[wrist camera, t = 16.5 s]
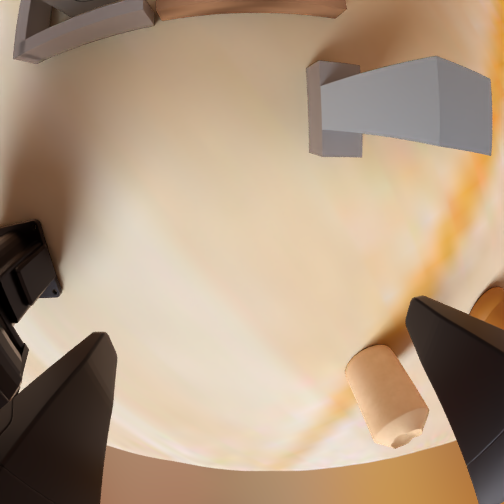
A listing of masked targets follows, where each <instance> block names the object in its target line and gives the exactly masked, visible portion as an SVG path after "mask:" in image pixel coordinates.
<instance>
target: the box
mask: <svg viewBox="0 0 504 504" xmlns="http://www.w3.org/2000/svg"><path fill="white" fill-rule="evenodd" d="M51 10H52V6H51V5H49V4H47V3H46V2H44V1H42V0H21V3H20V8H19V14H18V20H17V26H16V34H15V42H14V53H13V59H16V60H21V61H26V62H31V63H35V64H37V63H40V62H42V61H44V60H46V59H48V58H51V57H53V56H55V55H58V54H60V53H63V52H65V51H68V50H70V49H73V48H76V47H79V46H81V45H84V44H87V43H90V42H93V41H96V40H99V39H103V38H106V37H109V36H113V35H116V34H120V33H124V32H128V31H132V30H136V29H140V28H145V27H150V26H154V12H153V10H152V9H151V7H150V5H149V4H148V2H147V1H146V0H124V1H121V2H117V3H114V4H110V5H107V6H104V7H101V8H98V9H95V10H92V11H89V12H86V13H83V14H81V15H78V16H75V17H73V18H70V19H68V20H66V21H63V22H61V23H59V24H56V25H54V26H52V27H50V18H51ZM49 27H50V28H49Z"/></svg>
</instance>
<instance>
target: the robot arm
mask: <svg viewBox="0 0 504 504" xmlns="http://www.w3.org/2000/svg"><path fill="white" fill-rule="evenodd" d="M34 225H35V226H36V228H35V227H34ZM55 290H56V291H57V292H56V291H55ZM61 293H62V290H61V287H60V284H59V281H58V279H57V276H56V273H55V270H54V267H53V264H52V261H51V258H50V255H49V252H48V248H47V245H46V242H45V238H44V235H43V231H42V227H41V224H40V222H39V221H38V220H37V219H34V220H29V221H24V222H20V223H16V224H11V225H7V226H3V227H0V504H100V499H101V487H102V476H103V467H104V458H105V451H106V444H107V438H108V431H109V425H110V419H111V414H112V408H113V400H114V388H115V377H116V367H117V354H116V351H115V349H114V347H113V344H112V342H111V340H110V337H109V335H108V334H107V333H106V332H93V333H92V334H90V335H89V336H88V337H87V338H85V339H84V340H83V341H82V342H80V343H79V344H78V345H77V346H75V347H74V348H73V349H72V350H70V351H69V352H68V353H67V354H65V355H64V356H63V357H62V358H60V359H59V360H58V361H57V362H56V363H54V364H53V365H52V366H51V367H50V368H48V369H47V370H46V371H45V372H43V373H42V374H41V375H40V376H39V377H38V378H36V379H35V380H34V381H33V382H32V383H30V384H29V385H28V386H27V387H26V388H24V389H23V390H22V391H21V392H20V393H19V389H20V385H21V383H22V376H23V371H24V367H25V363H26V359H27V355H28V351H29V349H28V347H27V346H26V344H25V343H23V341H22V340H21V338H20V337H19V335H18V334H17V332H16V330H15V329H14V327H13V326H14V324H15V323H18V322H19V321H20V319H21V318H22V317H23V315H24V314H25V313H26V311H27V310H28V309H29V308H30V306H32V305H33V304H34V303H35V302H36V300H37V299H38V298H54V297H59V296H60V294H61ZM405 322H406V327H407V330H408V332H409V334H410V337H411V339H412V341H413V344H414V346H415V349H416V351H417V354H418V356H419V359H420V361H421V364H422V366H423V368H424V370H425V372H426V374H427V376H428V378H429V380H430V382H431V384H432V386H433V388H434V390H435V392H436V394H437V396H438V399H439V401H440V403H441V405H442V407H443V409H444V412H445V414H446V416H447V418H448V421H449V423H450V425H451V428H452V430H453V432H454V435H455V437H456V440H457V442H458V445H459V447H460V450H461V452H462V455H463V457H464V460H465V463H466V465H467V469H468V472H469V474H470V477H471V480H472V483H473V486H474V489H475V493H476V496H477V499H478V502H479V504H500V503H502V502H504V330H503V329H501V328H499V327H496V326H494V325H492V324H489V323H487V322H485V321H482V320H480V319H478V318H476V317H473V316H471V315H469V314H466V313H464V312H462V311H459V310H457V309H454V308H452V307H450V306H447V305H445V304H443V303H440V302H438V301H435V300H433V299H431V298H428V297H426V296H419V297H414V298H413V299H412V300H411V302H410V305H409V309H408V312H407V316H406V321H405ZM18 393H19V394H18Z"/></svg>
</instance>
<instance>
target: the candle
mask: <svg viewBox="0 0 504 504" xmlns="http://www.w3.org/2000/svg"><path fill="white" fill-rule="evenodd" d="M345 374H346V378H347V380H348V383H349V385H350V387H351V390H352V392H353V394H354V396H355V399H356V401H357V403H358V405H359V408H360V410H361V412H362V415H363V417H364V419H365V422H366V424H367V426H368V429H369V431H370V433H371V436H372V438H373V440H374V442H375V443H378V444H381V445H385V446H388V447H392V448H394V449H396V448H398V447H400V446H403V445H406V444H407V443H409V442H410V441H411V439H412V438H414V437H417V436H420V435H421V434H422V431H423V428H424V425H425V422H426V420H427V417H428V414H429V408H428V407H427V405H426V403H425V402H424V400H423V398H422V397H421V395H420V393H419V392H418V390H417V389H416V387H415V385H414V384H413V382H412V380H411V379H410V377H409V376H408V374H407V373H406V371H405V369H404V368H403V366H402V365H401V363H400V362H399V360H398V358H397V357H396V355H395V354H394V352H393V351H392V350H391V349H390V348H389V347H388V346H386V345H374V346H371V347H368V348H366V349H364V350H362V351H361V352H359V353H358V354H357V355H355V356H354V357H353V358H352V359H351V361H350V362H349V363H348V365H347V367H346V370H345Z"/></svg>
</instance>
